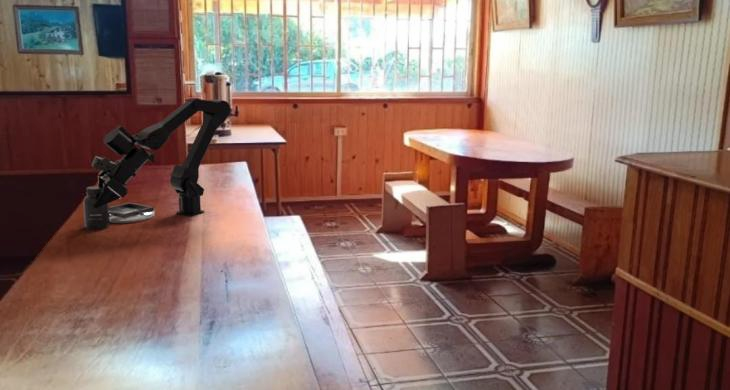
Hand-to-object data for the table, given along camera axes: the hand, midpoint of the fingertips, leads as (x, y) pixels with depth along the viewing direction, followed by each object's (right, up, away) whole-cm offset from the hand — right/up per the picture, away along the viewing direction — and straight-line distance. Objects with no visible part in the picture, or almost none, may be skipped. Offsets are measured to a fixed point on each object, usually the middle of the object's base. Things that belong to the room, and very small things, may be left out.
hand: (92, 204), depth 182 cm
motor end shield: (+5, -4, +14) cm, 16 cm away
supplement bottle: (+1, -7, +2) cm, 7 cm away
